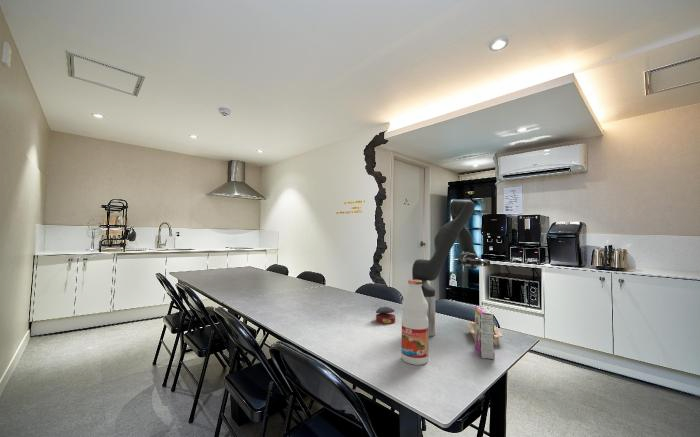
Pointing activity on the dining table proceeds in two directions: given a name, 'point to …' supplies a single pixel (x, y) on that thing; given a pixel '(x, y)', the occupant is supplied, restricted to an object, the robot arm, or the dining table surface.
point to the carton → (496, 332)
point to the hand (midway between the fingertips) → (475, 263)
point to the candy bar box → (484, 332)
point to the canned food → (385, 316)
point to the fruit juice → (415, 325)
